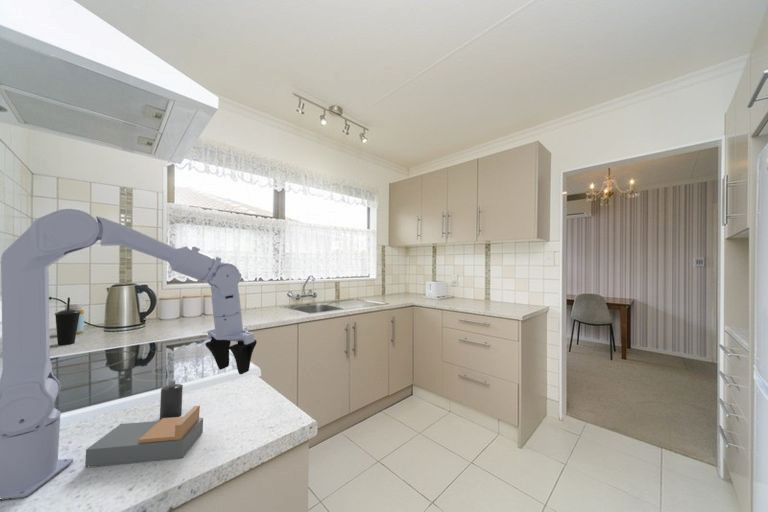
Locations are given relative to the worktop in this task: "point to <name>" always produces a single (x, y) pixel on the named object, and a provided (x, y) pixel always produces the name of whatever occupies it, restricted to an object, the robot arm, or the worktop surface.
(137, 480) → the worktop surface
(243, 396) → the worktop surface
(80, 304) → the bottle
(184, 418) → the tan l-shaped bracket
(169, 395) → the plug
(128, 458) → the socket block
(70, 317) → the drinking cup
